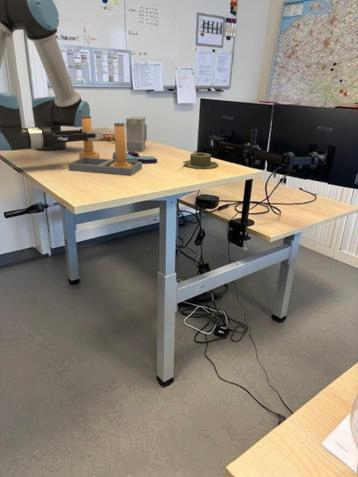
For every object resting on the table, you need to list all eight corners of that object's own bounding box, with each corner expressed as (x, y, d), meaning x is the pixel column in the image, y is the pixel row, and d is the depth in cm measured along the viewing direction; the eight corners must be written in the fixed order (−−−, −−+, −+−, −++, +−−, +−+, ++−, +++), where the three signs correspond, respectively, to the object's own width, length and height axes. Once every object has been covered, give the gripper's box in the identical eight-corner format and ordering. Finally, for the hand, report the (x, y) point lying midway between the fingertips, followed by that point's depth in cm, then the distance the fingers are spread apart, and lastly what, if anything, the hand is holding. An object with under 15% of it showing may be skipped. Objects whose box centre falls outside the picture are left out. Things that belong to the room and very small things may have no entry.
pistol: (160, 167, 146) (126, 169, 138) (144, 159, 158) (112, 161, 151) (160, 157, 144) (126, 159, 137) (144, 150, 156) (111, 151, 149)
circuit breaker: (147, 146, 183) (147, 116, 177) (142, 152, 170) (141, 119, 164) (133, 146, 183) (132, 115, 177) (126, 151, 171) (125, 118, 164)
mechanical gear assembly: (109, 136, 212) (85, 138, 205) (109, 129, 210) (84, 131, 203) (130, 144, 189) (104, 147, 182) (130, 136, 187) (103, 139, 180)
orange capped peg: (106, 171, 129) (104, 124, 122) (115, 166, 136) (113, 121, 129) (127, 173, 127) (126, 125, 120) (135, 168, 134) (134, 122, 127)
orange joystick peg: (75, 160, 143) (71, 116, 136) (85, 156, 150) (81, 114, 143) (94, 161, 141) (90, 117, 134) (102, 157, 148) (99, 115, 141)
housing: (69, 173, 130) (68, 163, 129) (84, 166, 141) (83, 157, 139) (131, 178, 126) (130, 169, 124) (141, 171, 136) (141, 161, 135)
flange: (213, 151, 155) (179, 151, 152) (223, 158, 141) (186, 158, 139) (212, 161, 157) (179, 162, 154) (222, 170, 143) (186, 170, 141)
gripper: (37, 144, 141) (94, 140, 152) (47, 152, 128) (108, 146, 139) (34, 124, 138) (92, 121, 149) (44, 130, 125) (107, 127, 136)
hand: (100, 133), depth 144 cm, fingers closed on orange joystick peg, 4 cm apart
